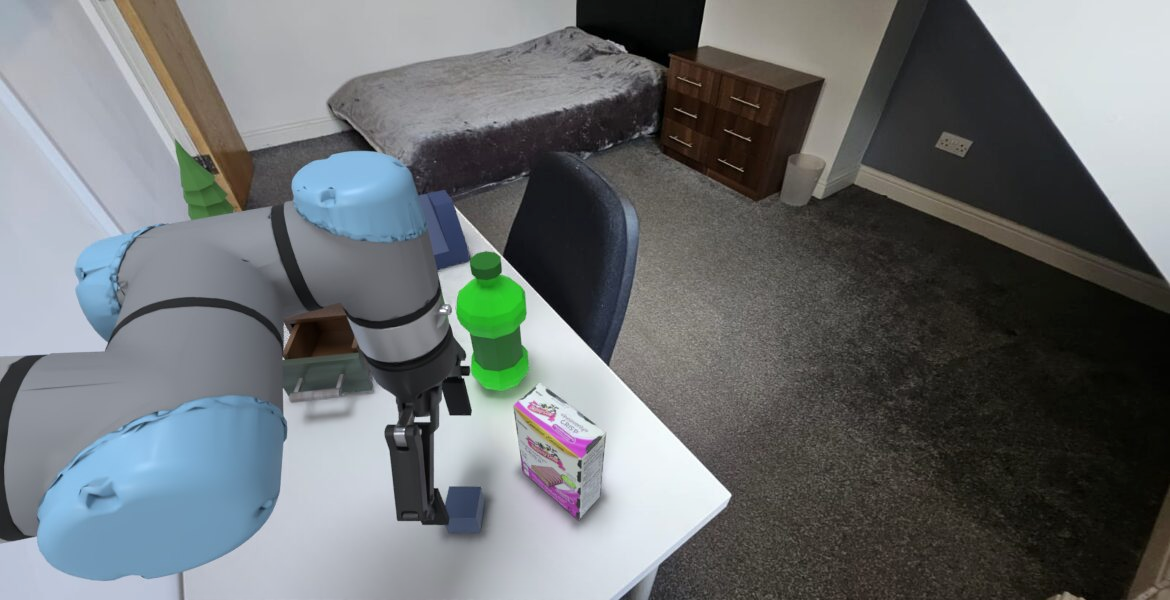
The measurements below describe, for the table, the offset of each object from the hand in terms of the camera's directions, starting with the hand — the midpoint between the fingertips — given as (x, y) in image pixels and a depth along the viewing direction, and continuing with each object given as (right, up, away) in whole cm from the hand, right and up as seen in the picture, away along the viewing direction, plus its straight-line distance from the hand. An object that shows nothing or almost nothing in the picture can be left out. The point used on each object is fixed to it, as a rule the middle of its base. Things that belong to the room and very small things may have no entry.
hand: (449, 462), depth 55 cm
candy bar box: (+12, -7, +12) cm, 19 cm away
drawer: (-26, +7, +25) cm, 37 cm away
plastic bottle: (+2, +5, +26) cm, 27 cm away
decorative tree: (-57, +24, +46) cm, 77 cm away
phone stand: (-18, +29, +53) cm, 63 cm away
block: (0, -10, +8) cm, 13 cm away
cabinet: (-28, +14, +35) cm, 47 cm away
